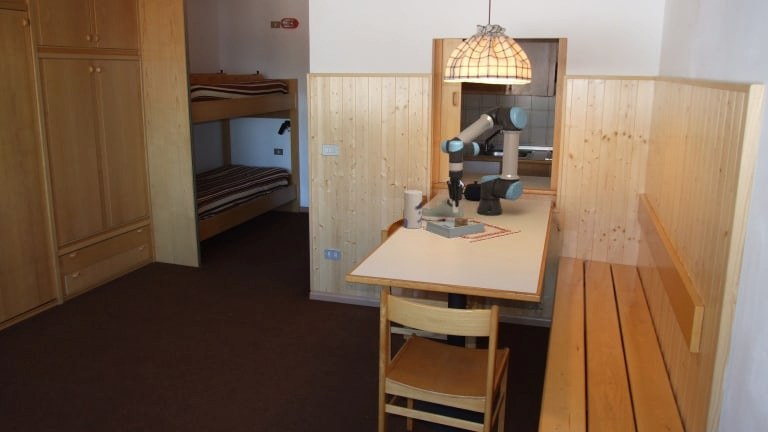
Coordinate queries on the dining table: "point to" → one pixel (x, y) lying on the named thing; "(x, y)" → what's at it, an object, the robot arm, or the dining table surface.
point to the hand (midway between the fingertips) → (455, 212)
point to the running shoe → (442, 212)
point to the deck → (454, 228)
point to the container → (413, 209)
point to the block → (461, 222)
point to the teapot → (473, 191)
